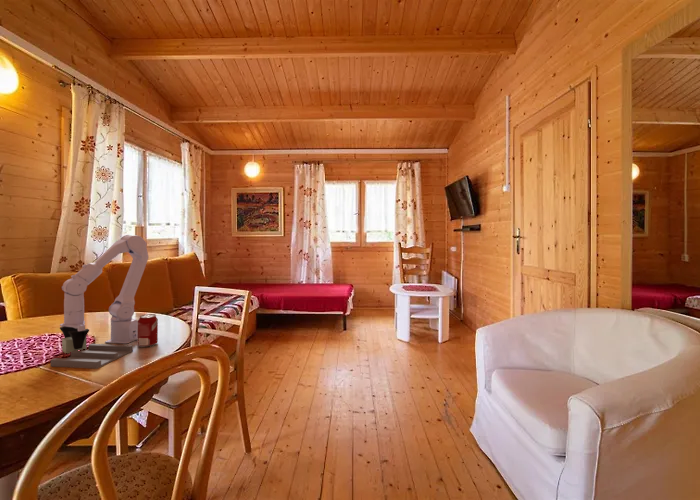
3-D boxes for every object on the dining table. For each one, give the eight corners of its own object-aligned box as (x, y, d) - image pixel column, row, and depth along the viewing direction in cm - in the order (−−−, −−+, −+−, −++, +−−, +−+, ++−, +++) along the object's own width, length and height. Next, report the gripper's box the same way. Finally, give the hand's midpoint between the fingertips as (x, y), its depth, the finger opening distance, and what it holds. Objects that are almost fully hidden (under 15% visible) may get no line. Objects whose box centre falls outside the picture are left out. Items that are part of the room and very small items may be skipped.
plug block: (82, 347, 123) (82, 334, 123) (86, 349, 121) (86, 336, 121) (62, 351, 118) (62, 338, 118) (66, 354, 116) (66, 340, 116)
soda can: (147, 348, 123) (148, 318, 123) (133, 347, 124) (133, 316, 124) (161, 343, 130) (161, 314, 129) (147, 341, 131) (147, 313, 130)
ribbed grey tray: (132, 351, 120) (132, 345, 120) (97, 368, 104) (97, 362, 104) (91, 349, 121) (91, 343, 121) (50, 366, 105) (50, 359, 105)
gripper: (53, 309, 119) (53, 345, 120) (67, 315, 111) (67, 353, 112) (77, 306, 125) (77, 340, 126) (92, 312, 117) (92, 348, 118)
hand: (74, 346), depth 119 cm, fingers open, 7 cm apart
